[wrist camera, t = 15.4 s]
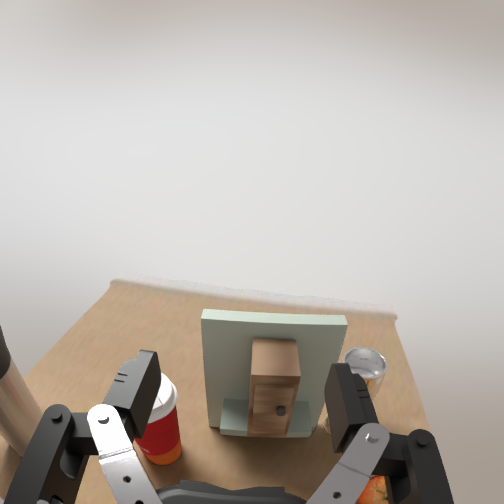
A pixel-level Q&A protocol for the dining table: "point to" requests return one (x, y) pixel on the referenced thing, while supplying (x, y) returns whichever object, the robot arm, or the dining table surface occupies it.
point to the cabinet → (272, 386)
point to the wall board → (240, 355)
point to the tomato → (374, 492)
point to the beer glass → (364, 371)
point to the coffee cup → (162, 427)
